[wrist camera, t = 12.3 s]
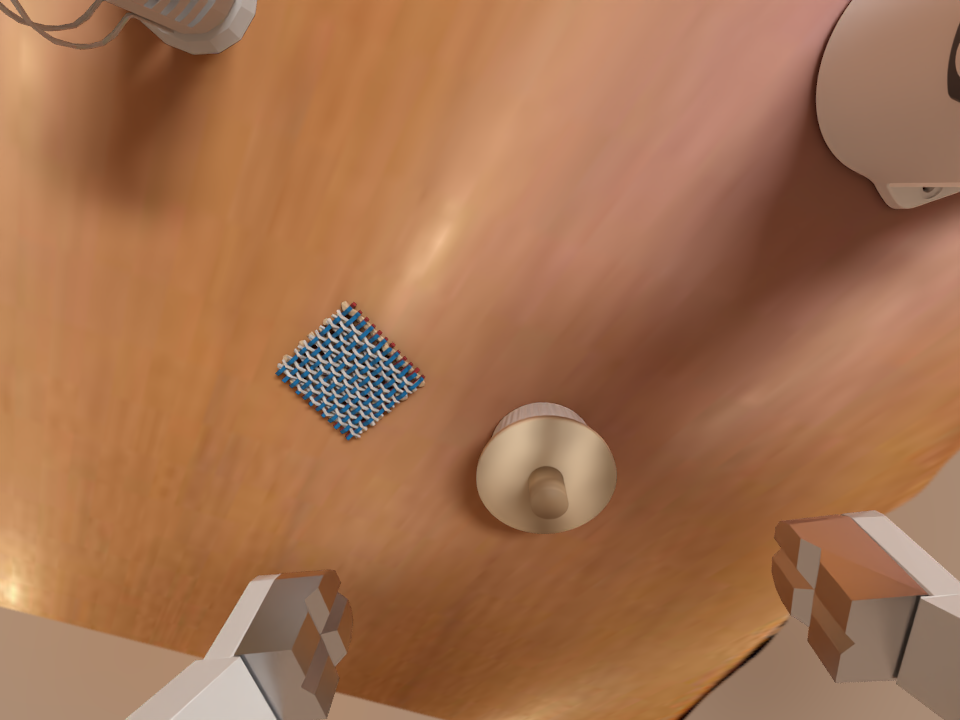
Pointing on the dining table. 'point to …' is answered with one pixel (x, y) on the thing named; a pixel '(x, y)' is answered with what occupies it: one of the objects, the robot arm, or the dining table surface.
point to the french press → (167, 22)
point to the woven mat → (350, 372)
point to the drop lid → (546, 474)
